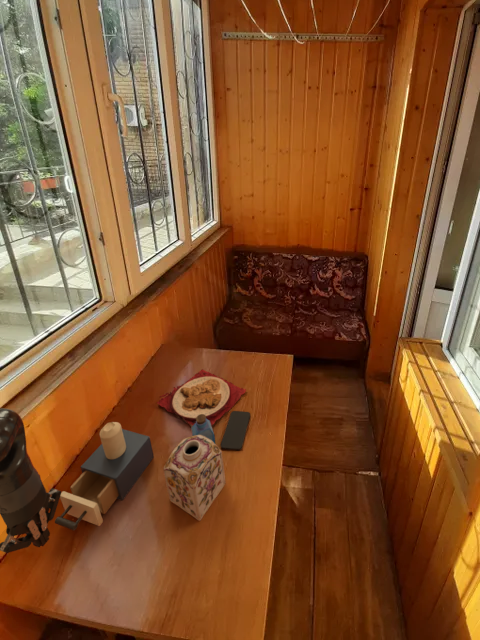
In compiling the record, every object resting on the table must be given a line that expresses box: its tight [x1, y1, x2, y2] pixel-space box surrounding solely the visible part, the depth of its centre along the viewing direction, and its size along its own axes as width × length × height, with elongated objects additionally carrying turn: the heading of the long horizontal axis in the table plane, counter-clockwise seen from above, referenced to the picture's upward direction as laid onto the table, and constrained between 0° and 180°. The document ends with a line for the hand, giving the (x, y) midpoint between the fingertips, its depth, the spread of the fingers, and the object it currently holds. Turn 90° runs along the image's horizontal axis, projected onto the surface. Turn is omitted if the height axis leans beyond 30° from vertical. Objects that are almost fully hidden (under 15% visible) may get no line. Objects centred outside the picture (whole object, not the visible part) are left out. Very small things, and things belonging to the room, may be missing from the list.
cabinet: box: [80, 428, 155, 502], centre depth 95 cm, size 14×13×9 cm
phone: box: [220, 410, 251, 451], centre depth 110 cm, size 7×1×15 cm
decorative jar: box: [162, 435, 226, 522], centre depth 87 cm, size 12×12×18 cm
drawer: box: [54, 470, 119, 532], centre depth 86 cm, size 17×11×7 cm
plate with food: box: [156, 368, 247, 427], centre depth 123 cm, size 24×26×4 cm
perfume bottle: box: [191, 414, 217, 445], centre depth 103 cm, size 6×6×12 cm
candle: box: [99, 421, 126, 459], centre depth 91 cm, size 6×6×10 cm
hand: (43, 542), depth 73 cm, fingers closed
